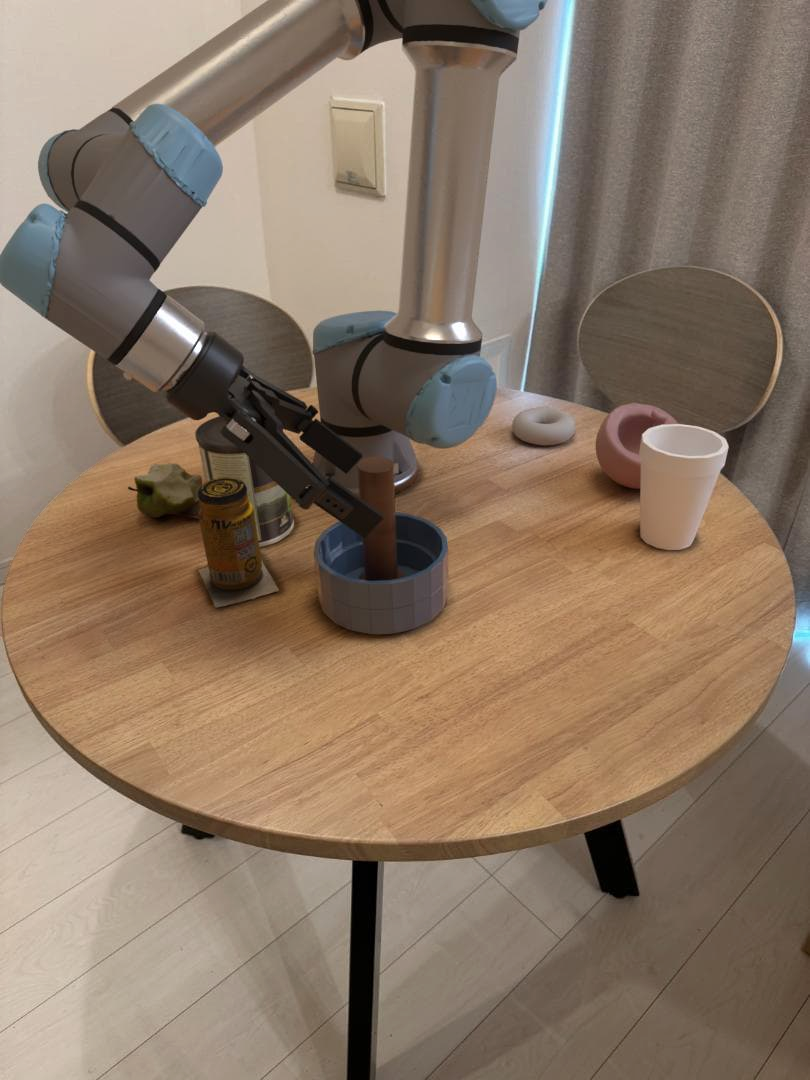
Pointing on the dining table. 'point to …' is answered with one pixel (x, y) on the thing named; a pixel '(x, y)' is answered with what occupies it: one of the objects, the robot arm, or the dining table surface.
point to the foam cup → (677, 482)
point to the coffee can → (246, 481)
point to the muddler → (382, 539)
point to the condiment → (231, 544)
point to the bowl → (385, 600)
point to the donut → (543, 426)
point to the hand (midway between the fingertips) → (363, 492)
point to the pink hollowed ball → (626, 440)
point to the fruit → (168, 491)
